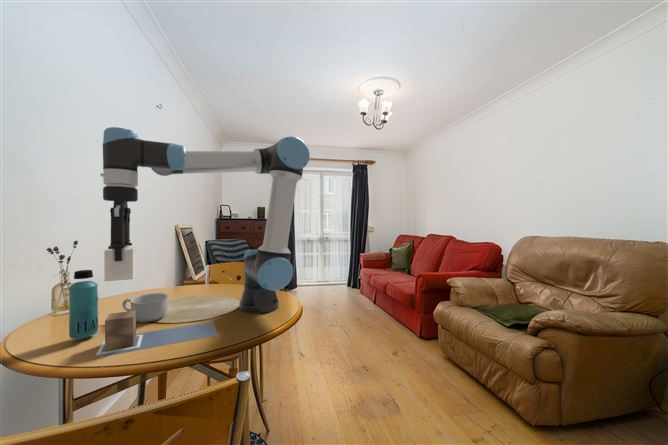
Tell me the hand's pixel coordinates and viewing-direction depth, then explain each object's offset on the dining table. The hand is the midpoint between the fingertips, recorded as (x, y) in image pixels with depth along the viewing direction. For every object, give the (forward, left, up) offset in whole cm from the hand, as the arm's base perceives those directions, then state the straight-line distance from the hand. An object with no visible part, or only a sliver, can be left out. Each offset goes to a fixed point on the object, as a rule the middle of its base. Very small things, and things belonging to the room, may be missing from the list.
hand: (121, 270), depth 77 cm
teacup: (-4, -20, -21) cm, 29 cm away
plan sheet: (-10, 0, -21) cm, 23 cm away
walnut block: (0, 0, -20) cm, 20 cm away
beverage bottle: (+10, -10, -21) cm, 25 cm away
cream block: (0, 0, -2) cm, 2 cm away
